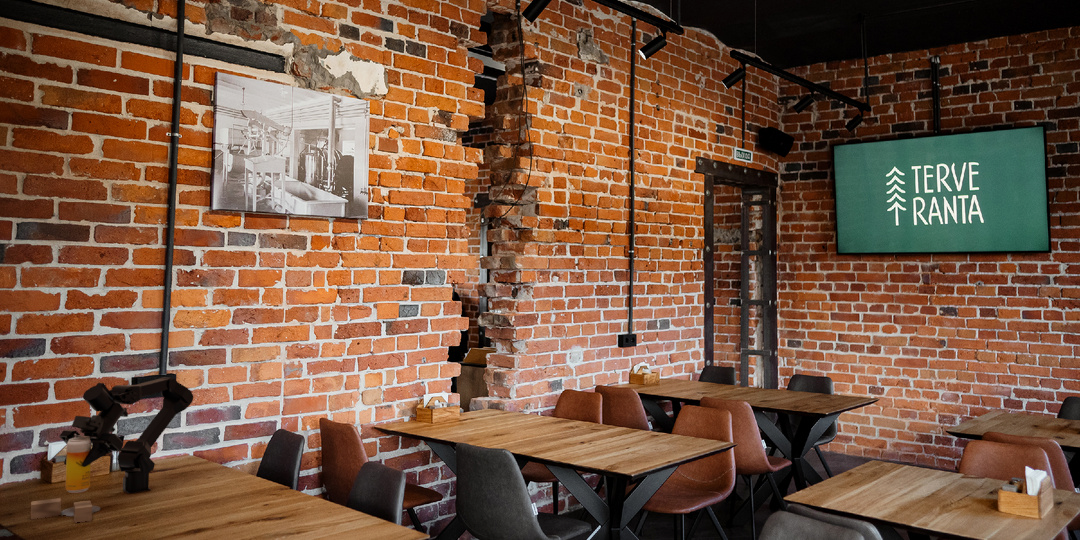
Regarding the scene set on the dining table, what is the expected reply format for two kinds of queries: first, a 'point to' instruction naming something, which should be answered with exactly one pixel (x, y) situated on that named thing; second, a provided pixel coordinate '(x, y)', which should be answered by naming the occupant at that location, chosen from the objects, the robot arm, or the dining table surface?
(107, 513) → the dining table surface
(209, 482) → the dining table surface
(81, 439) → the beer can
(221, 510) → the dining table surface
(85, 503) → the beam vee
